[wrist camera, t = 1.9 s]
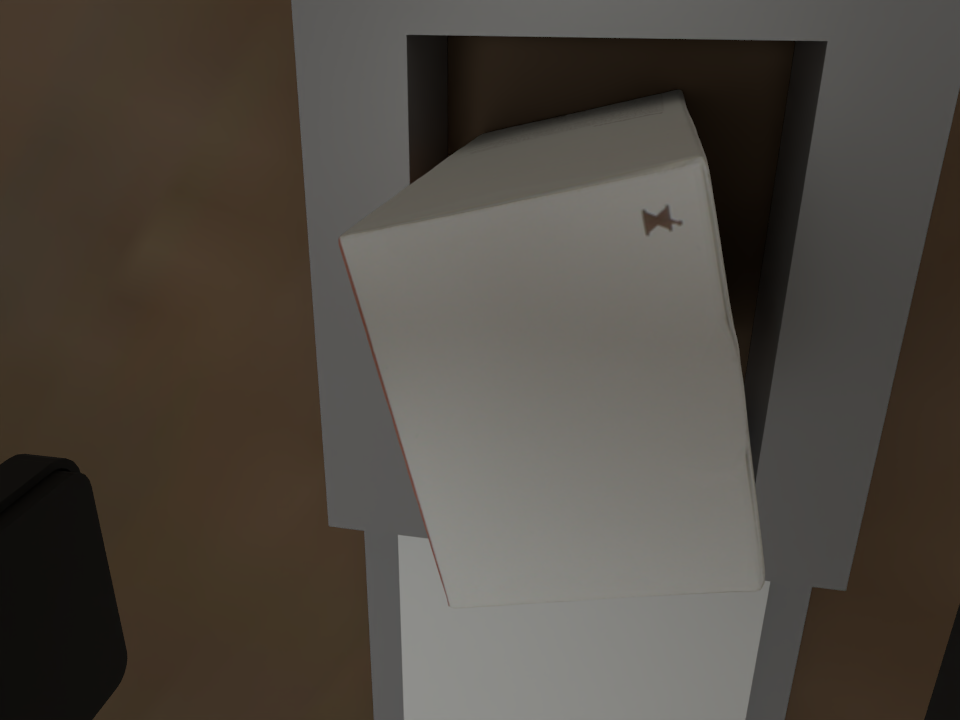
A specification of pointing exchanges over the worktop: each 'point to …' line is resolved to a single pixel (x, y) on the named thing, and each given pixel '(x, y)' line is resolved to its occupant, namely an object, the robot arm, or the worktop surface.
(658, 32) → the case
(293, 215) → the worktop surface
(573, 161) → the small box
